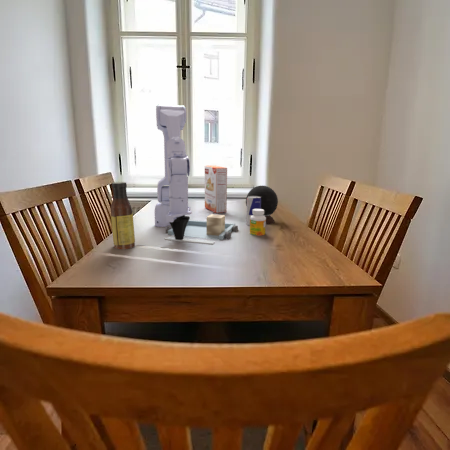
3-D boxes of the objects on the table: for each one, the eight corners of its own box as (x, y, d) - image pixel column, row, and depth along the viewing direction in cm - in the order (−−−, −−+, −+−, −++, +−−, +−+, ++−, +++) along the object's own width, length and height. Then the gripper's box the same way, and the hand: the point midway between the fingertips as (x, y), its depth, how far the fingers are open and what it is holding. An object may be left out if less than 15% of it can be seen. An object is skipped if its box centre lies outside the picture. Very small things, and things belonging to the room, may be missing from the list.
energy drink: (259, 229, 128) (260, 198, 126) (245, 228, 129) (246, 197, 127) (260, 226, 133) (262, 196, 131) (247, 225, 134) (248, 195, 132)
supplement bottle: (247, 238, 117) (248, 210, 114) (251, 234, 122) (252, 207, 119) (262, 240, 115) (264, 211, 113) (266, 236, 120) (267, 209, 118)
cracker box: (203, 208, 169) (204, 165, 164) (215, 207, 171) (215, 165, 166) (215, 213, 156) (215, 167, 152) (226, 212, 159) (227, 167, 154)
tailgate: (171, 240, 113) (164, 243, 108) (171, 236, 113) (164, 238, 108) (217, 245, 109) (212, 248, 104) (217, 240, 109) (212, 243, 104)
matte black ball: (261, 226, 133) (263, 188, 130) (238, 220, 143) (239, 184, 139) (283, 222, 142) (285, 186, 138) (260, 216, 151) (261, 183, 148)
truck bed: (162, 239, 113) (161, 230, 112) (183, 227, 130) (182, 218, 129) (225, 245, 108) (226, 236, 107) (239, 232, 124) (239, 223, 124)
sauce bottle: (139, 246, 105) (136, 181, 100) (127, 252, 99) (123, 184, 95) (121, 244, 107) (117, 180, 102) (108, 249, 101) (104, 182, 97)
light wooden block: (206, 234, 115) (206, 217, 114) (211, 231, 120) (211, 214, 118) (220, 235, 114) (221, 218, 112) (224, 232, 118) (225, 215, 117)
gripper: (181, 201, 97) (182, 247, 100) (199, 194, 111) (198, 234, 114) (159, 200, 99) (160, 244, 102) (178, 193, 112) (179, 232, 116)
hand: (179, 239), depth 108 cm, fingers closed, pressing on tailgate
